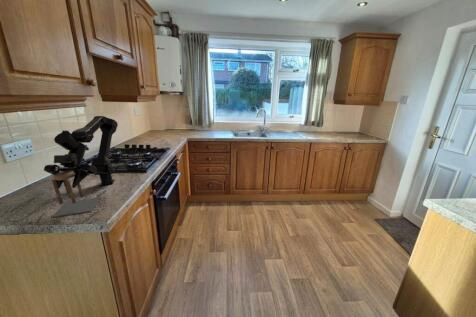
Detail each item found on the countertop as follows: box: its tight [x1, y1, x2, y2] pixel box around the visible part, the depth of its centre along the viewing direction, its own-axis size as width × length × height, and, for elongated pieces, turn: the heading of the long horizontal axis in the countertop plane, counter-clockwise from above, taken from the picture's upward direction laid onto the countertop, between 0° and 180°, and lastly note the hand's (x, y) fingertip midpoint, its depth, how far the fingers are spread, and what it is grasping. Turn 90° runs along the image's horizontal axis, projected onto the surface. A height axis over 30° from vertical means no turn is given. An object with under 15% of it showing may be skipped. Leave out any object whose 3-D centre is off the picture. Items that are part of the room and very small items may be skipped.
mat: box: [52, 197, 100, 218], centre depth 93 cm, size 12×14×1 cm
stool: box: [51, 171, 85, 205], centre depth 87 cm, size 6×6×12 cm
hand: (65, 187), depth 86 cm, fingers closed on stool, 6 cm apart
